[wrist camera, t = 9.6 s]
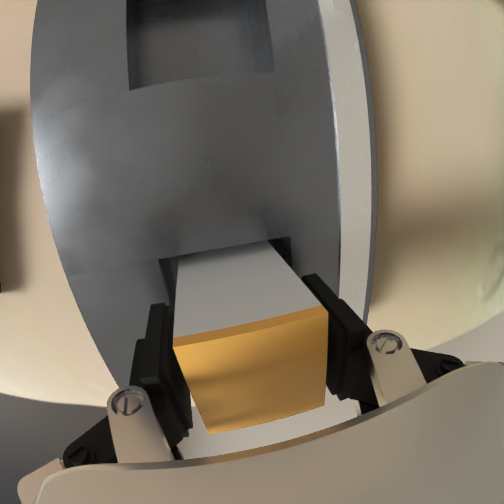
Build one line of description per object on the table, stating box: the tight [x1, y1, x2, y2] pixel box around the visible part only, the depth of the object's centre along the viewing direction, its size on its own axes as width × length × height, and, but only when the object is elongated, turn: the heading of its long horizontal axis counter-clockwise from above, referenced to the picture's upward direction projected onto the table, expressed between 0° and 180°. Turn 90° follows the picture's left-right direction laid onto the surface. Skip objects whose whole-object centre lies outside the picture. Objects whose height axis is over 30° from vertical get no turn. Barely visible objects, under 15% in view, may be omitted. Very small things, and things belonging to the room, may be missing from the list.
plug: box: [173, 240, 328, 434], centre depth 11 cm, size 4×4×8 cm
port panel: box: [30, 0, 377, 388], centre depth 11 cm, size 14×22×4 cm, turn 6°
